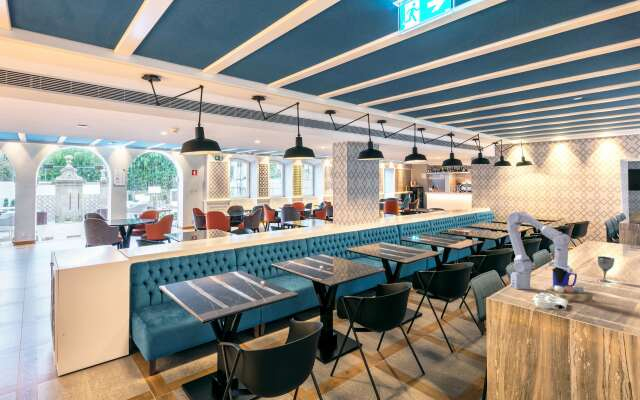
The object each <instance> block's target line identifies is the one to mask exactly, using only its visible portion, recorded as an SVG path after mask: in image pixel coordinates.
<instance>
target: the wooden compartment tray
mask: <svg viewBox="0 0 640 400" xmlns="http://www.w3.org/2000/svg"><path fill="white" fill-rule="evenodd" d="M545 293H549V294H552V295H554V296H556V297H560V298H563V299H565V300H567V301H568V302H592V303H593V295H591V294H589V293H586V292H584V291H583V294H577V293H575V292H573V294H568V293H565V292H564V293H556V292H554V288H546V289H545Z"/></svg>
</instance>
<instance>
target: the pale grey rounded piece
mask: <svg viewBox="0 0 640 400" xmlns="http://www.w3.org/2000/svg"><path fill="white" fill-rule="evenodd" d="M553 289H554V292H556V293H564V287H562V286H555V287H554V286H553Z"/></svg>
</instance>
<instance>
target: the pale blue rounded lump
mask: <svg viewBox="0 0 640 400" xmlns="http://www.w3.org/2000/svg"><path fill="white" fill-rule="evenodd" d="M573 287H574V292H575V293H577V294H583V292H584V289H585V288H584V287H583V286H579V285H574V286H573Z"/></svg>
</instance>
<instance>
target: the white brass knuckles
mask: <svg viewBox="0 0 640 400" xmlns="http://www.w3.org/2000/svg"><path fill="white" fill-rule="evenodd" d="M530 300H531V301H533V303H534V304H535V306H536V307H538V308H542V309H554V310H560V311H566V309H567V306H568V304H569V301H567V300H565V299H563V298H560V297H556V296H554V295H552V294H549V293H546V292H540V293H536V294H535V295H533V296H532V298H530ZM560 306H562V307H561V308H560Z"/></svg>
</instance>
